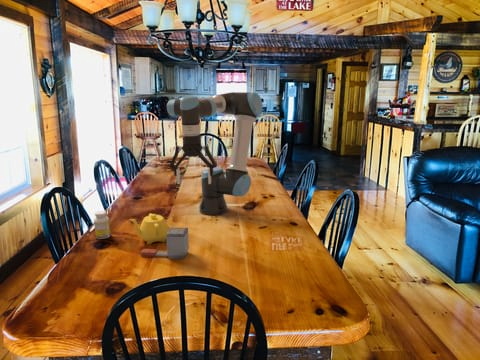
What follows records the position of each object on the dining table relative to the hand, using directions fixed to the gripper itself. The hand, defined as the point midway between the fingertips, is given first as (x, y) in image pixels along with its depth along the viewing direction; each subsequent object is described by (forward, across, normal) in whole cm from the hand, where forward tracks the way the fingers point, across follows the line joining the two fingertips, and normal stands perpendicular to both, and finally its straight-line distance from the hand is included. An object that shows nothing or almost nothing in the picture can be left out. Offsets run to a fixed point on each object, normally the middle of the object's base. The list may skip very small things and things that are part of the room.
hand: (194, 183), depth 163 cm
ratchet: (+25, -10, -19) cm, 33 cm away
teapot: (+25, -20, -5) cm, 33 cm away
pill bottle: (+25, -43, -2) cm, 50 cm away
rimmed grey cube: (+23, -4, -19) cm, 30 cm away
